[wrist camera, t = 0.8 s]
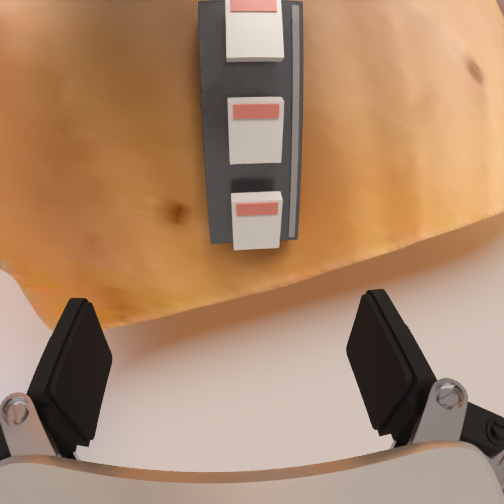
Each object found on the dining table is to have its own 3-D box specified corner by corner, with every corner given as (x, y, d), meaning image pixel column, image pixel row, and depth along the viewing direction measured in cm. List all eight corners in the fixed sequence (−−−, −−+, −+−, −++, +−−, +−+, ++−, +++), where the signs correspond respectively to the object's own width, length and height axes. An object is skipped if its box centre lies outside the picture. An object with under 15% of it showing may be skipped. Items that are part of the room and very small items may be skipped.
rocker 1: (225, 4, 20) (225, -3, 19) (278, 4, 21) (281, -3, 19) (226, 62, 22) (226, 57, 21) (281, 61, 23) (284, 57, 21)
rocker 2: (227, 97, 24) (227, 102, 23) (281, 96, 24) (284, 102, 23) (229, 157, 28) (229, 165, 27) (278, 155, 28) (281, 163, 27)
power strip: (201, -20, 22) (198, -32, 19) (292, -20, 23) (302, -31, 19) (212, 226, 37) (210, 245, 33) (290, 222, 37) (298, 240, 33)
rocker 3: (230, 193, 28) (231, 203, 27) (280, 191, 29) (282, 200, 27) (233, 240, 32) (233, 251, 31) (277, 238, 32) (279, 248, 31)
